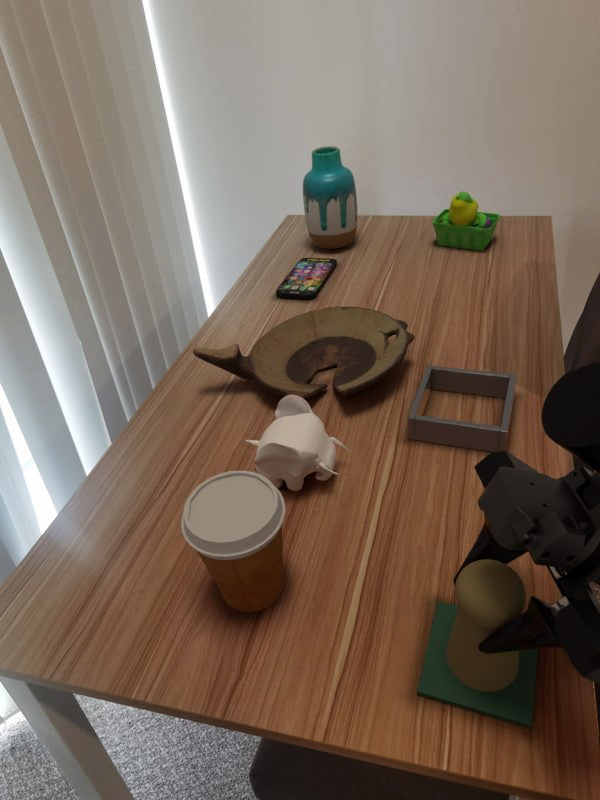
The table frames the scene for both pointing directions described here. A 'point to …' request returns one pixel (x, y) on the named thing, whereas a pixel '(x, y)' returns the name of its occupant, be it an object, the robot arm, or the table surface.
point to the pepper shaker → (484, 624)
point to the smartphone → (306, 278)
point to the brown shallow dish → (319, 351)
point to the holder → (458, 430)
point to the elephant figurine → (295, 446)
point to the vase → (330, 200)
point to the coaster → (449, 689)
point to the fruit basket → (465, 224)
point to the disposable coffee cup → (238, 536)
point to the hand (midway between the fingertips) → (468, 615)
